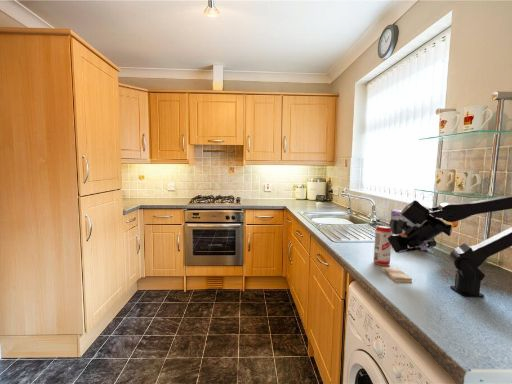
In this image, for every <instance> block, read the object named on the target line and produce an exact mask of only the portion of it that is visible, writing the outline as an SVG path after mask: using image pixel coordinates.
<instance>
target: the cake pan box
mask: <svg viewBox="0 0 512 384" xmlns="http://www.w3.org/2000/svg"><path fill="white" fill-rule="evenodd" d="M402 210H403V209H392V210H391V211H390V212H391V213H390V221H389V224H388V226H390V227H391V230H392V235H395V234H399V235H401V236H402V237H403V236H404V237H406V236H405V234H404V233H405V231H404V230H403V229H400V228H399V227H398V226H397V225H396V223H397V221H398V220H399V219H401V218H405V217H404V216H402V215H401V212H402ZM425 221H426V220H425ZM425 221H424V222H425ZM424 222H423V223H424ZM417 224H418V223H417ZM418 225H419V226H420V225H421V224H418ZM427 246H428V244H427V243H426V245H425V246H423V247H420V248H421V250H420V251H428V249H427Z"/></svg>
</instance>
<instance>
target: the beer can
mask: <svg viewBox="0 0 512 384" xmlns="http://www.w3.org/2000/svg"><path fill="white" fill-rule="evenodd" d="M376 226H377V227H376V228H375V235H374V246H373V247H374V248H373V262H374V263H375V264H376V265H378V266H382V267H386V266H387V267H388V265H390V263H391V253H392V251H391V249H392V246H391V244H390V242H389V240H388V237H389V236H390V235H392V230H391V227H390V226H389V225H385V224H378V225H376Z"/></svg>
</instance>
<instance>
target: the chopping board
mask: <svg viewBox="0 0 512 384" xmlns="http://www.w3.org/2000/svg"><path fill="white" fill-rule="evenodd" d="M381 271H382V272H383V273H385V275H387V276H388V277H389V278H390V279H392V280H393V281H394V282H398V283H399V282H401V283H403V282H406V283H412V280H413V279H412V277H410V276H409V275H408V274H406V273H405V272H404V271H403V270H401V269H400V268H399V267H394V266H393V267H390V266H389V267H388V266H387V267H386V266H382V267H381Z"/></svg>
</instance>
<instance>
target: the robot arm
mask: <svg viewBox="0 0 512 384" xmlns="http://www.w3.org/2000/svg"><path fill="white" fill-rule="evenodd" d="M401 210H402V212H401V215H402V216H404V217H405V218H401V219H399V220H398V221H397V223H396V225H397V226H398V227H399V228H400V229H403V230H404V231H405V233H404V234H405V236H406V237H404V236H403V237H402V236H401V235H399V234H395V235H390V236H389V237H388V240H389V242H390V244H391V248H392V249H393V251H394V253H397V254H399V253H407V252H414V251H422V250H421V248H420V247H423V246H425V245H426V243H427V244H428V246H427V250H428V249H433V248H435V247H437V241H436V239H435V238H436V237H437V236H439V235H441V234H442V233H444V234H445V235H446V236H448V237H451V234H452V232H453V228H452V227H453V225H452V224H448V223H455V222H459V221H461V220H465V219H468V218H469V217H470V218H471V217H472V216H475V215H481V214H487V213H493V212H499V211H506V210H512V194H510V195H509V194H508V195H502V196H496V197H492V198H491V197H490V198H486V199H480V200H473V201H446V202H445V201H444V202H442V203H440V204H438V206H434V207H429V208H427V207H425V206H424V205H422V204H421V203H420V202H419V201H418V200H416V199H414V200H413V201H411V202H410V203H409V204H408V205H406V206H405V207H404V208H403V209H401ZM441 219H442V220H441ZM425 220H426V221H425ZM424 221H425V222H424ZM423 222H424V223H423ZM446 222H447V223H446ZM417 223H418V224H421V225H420V226H419V225H418V224H417ZM511 247H512V226H511V227H509V228H507V229H505V230H503V231H500V232H498V233H497V234H495V235H493V236H491V237H489V238H487V239H485V240H483V241H481V242H479V243H477V244H474V245H469V244H467V243H466V242H464V243H462V244H460V245H459V246H458V247H453V250H452V251H451V252H450V254H449V260H450V262H451V263H452V265H453V266H454V267H455V269H456V271H455V272H456V273H455V276H454V278H455V279H454V285H450V286H449V287H450V288H451V289H452V290H454V291H455V292H457V293H458V294H460V295H461V296H463V297H467V298H468V297H471V298H484V297H485V294H483V293H481V283H482V281H483V280H484V278H485V276H486V275H485V273H484V272H483V271H482V270H481V269H480V268H479V267H481V266H482V265H483V264H484V263H485V261H486V260H487V259H488V258H490V257H492V256H494V255H496V254H498V253H500V252H503V251H504V250H506V249H508V248H511Z"/></svg>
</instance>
